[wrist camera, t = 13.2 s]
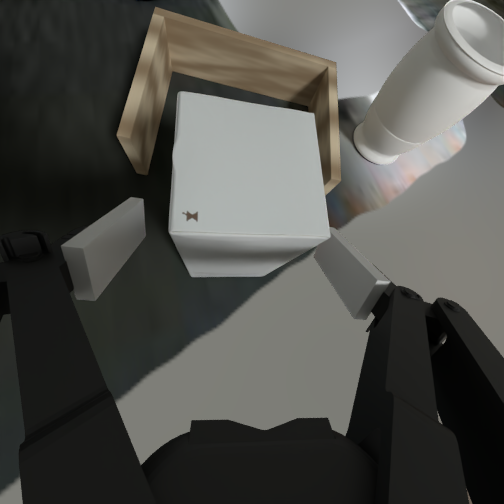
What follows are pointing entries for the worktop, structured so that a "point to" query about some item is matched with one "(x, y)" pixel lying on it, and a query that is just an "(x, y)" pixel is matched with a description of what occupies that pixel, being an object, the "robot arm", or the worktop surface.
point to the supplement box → (244, 186)
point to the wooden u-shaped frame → (226, 82)
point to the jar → (435, 82)
